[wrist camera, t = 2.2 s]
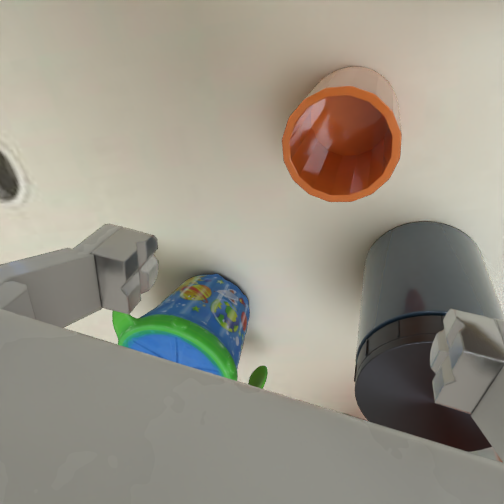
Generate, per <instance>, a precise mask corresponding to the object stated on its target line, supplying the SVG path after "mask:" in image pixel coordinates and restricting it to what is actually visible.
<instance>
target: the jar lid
mask: <svg viewBox="0 0 504 504" xmlns="http://www.w3.org/2000/svg"><path fill="white" fill-rule="evenodd" d="M444 317H445V316H433V315H429V316H417V317H410V318H406V319H402V320H397V321H396V322H393V323H391V324H388V325H386V326H384V327H383V328H381V329H379V330H378V331H377V332H375V333H374V334H373V335H372V336H371V337H370V338H368V339H366V342H365V343H364V345H363V346H362V348H361V350H360V353H359V356H358V361H357V365H356V367H355V377H354V382H355V397H356V400H357V404H358V406H359V408H360V410H361V412H362V413H363V415H364V416H365V417H366V418H367V420H368V421H369V422H372V423H375V424H379V425H382V426H385V427H388V428H392V429H395V430H398V431H402V432H405V433H408V434H411V435H415V436H418V437H421V438H424V439H428V440H431V441H434V442H437V443H441V444H444V445H447V446H450V447H454V448H457V449H460V450H464V451H467V452H472V451H478V450H483V449H486V448H490V447H492V446H491V444H490V443H489V441H488V440H487V438H486V437H485V436H484V434H483V433H482V431H481V430H480V428H479V427H478V426H477V424H476V423H475V421H474V420H473V418H472V417H471V414H468V413H465V412H462V411H459V410H456V409H452V408H449V407H446V406H443V405H440V404H437V403H435V400H434V392H433V384H432V381H433V379H434V377H435V375H436V374H435V373H434V371H433V370H432V369H431V367H430V352H431V347H432V343H433V341H434V338H435V336H436V334H437V333H438V332H440V331H442V330H444V323H443V319H444Z"/></svg>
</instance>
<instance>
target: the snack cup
mask: <svg viewBox="0 0 504 504" xmlns="http://www.w3.org/2000/svg"><path fill="white" fill-rule="evenodd" d="M248 305H249V302H248V299H247V297H246V296H245V295H243V294H242V292H241V290H240V289H239V288H238V287H237V286H236V285H234V284H233V283H231V282H230V281H227V280H225V279H224V278H223V277H221V276H220V275H218V274H213V275H198V276H195V277H192V278H190V279H188V280H186V281H185V282H184V283H183V284H182V285H181V286H180V287H179V288H177V289H176V290H175V291H174V292H173V293H172V294H171V295H170V296H168V297H167V298H166V299H165V300H164V301H163V302H162V303H161V304H160V305H158V306H157V307H156V308H154V309H153V310H151V311H150V312H148V313H147V314H145V315H143V316H142V317H140V318H138V319H136V318H134V317H132V316H131V315H129V314H125V313H121V312H117V311H113V314H112V317H113V320H112V322H113V326H114V329H115V332H116V334H117V336H118V340H119V341H118V345H120V346H124V347H127V348H130V349H134V350H137V351H140V352H143V353H147V354H150V355H153V356H156V357H160V358H163V359H166V360H169V361H173V362H176V363H179V364H182V365H186V366H189V367H192V368H196V369H199V370H202V371H205V372H209V373H212V374H215V375H219V376H222V377H225V378H228V379H232V380H235V381H237V377H238V376H237V368H238V367H237V366H238V363H239V360H240V356H241V352H242V348H243V344H244V337H245V334H246V331H247V325H248V320H249V313H250V312H249V306H248ZM266 378H267V367H266V366H260V367H258V368H257V369H256V370H255V371H254V372H253V373H252V374H251V376H250V379H249V383H248V385H251V386H255V387H258V388H261V389H263V387H264V384H265V382H266Z"/></svg>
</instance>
